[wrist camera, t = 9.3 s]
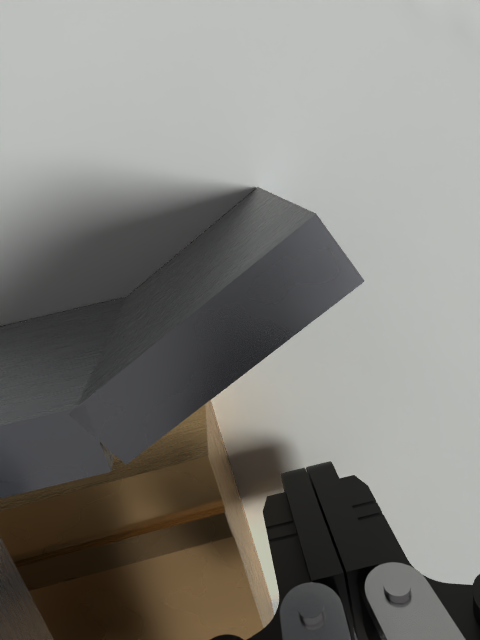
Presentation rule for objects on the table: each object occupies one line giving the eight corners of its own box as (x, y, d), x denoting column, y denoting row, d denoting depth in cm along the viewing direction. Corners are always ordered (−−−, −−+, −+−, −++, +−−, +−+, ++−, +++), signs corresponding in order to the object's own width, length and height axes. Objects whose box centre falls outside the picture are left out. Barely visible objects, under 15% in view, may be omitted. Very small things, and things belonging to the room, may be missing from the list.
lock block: (203, 371, 13) (208, 461, 9) (269, 589, 16) (293, 725, 13) (-66, 442, 13) (-175, 564, 9) (52, 647, 16) (8, 804, 12)
